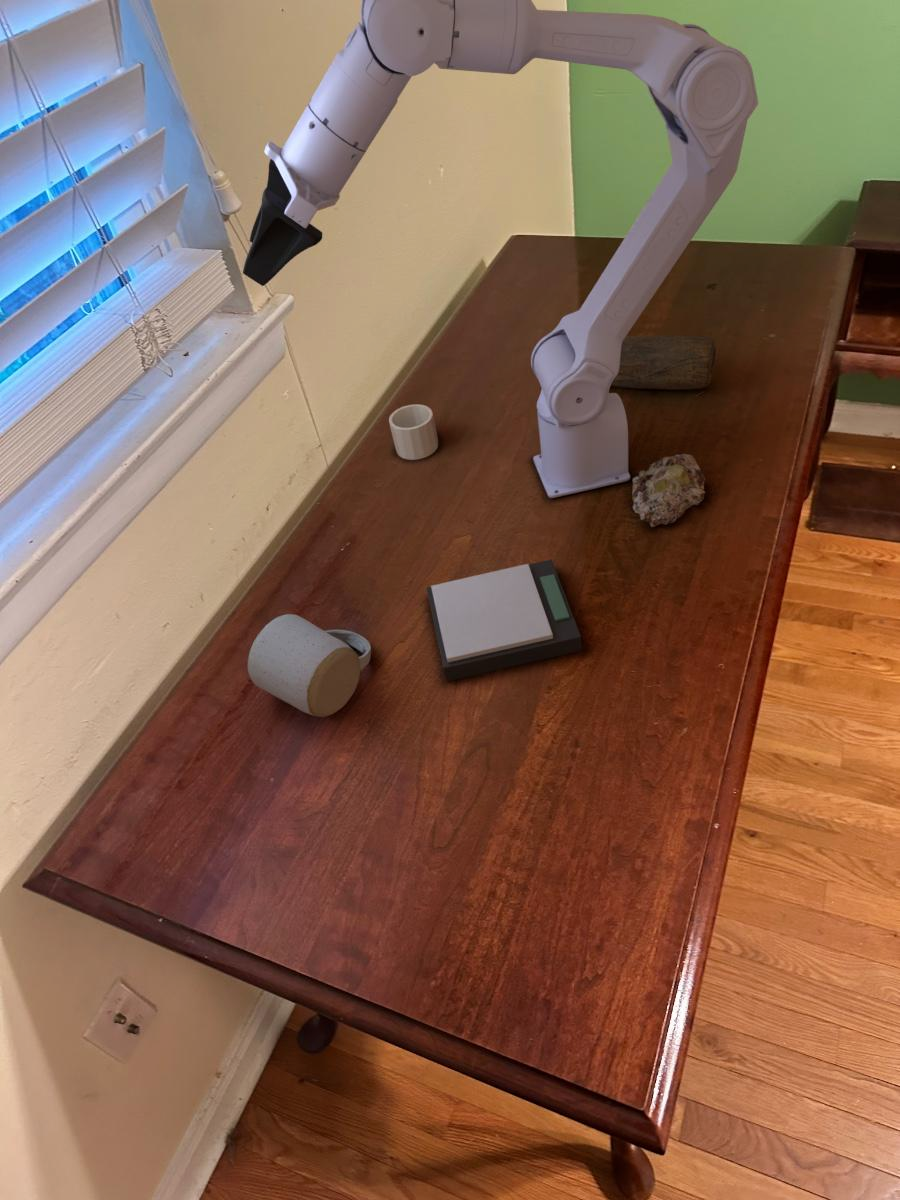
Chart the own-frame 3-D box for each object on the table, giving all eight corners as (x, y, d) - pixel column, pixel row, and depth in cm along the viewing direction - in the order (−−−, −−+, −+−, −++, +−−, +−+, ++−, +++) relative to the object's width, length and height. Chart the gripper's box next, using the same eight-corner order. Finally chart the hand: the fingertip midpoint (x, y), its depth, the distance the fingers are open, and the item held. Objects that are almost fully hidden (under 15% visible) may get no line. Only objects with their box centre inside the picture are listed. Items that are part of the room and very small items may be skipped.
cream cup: (435, 430, 109) (429, 400, 106) (441, 454, 105) (435, 423, 102) (393, 439, 109) (386, 409, 106) (398, 464, 105) (391, 433, 102)
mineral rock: (642, 445, 96) (711, 441, 91) (652, 476, 99) (720, 473, 94) (607, 506, 90) (679, 505, 85) (619, 537, 93) (690, 537, 88)
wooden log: (714, 370, 109) (718, 321, 104) (711, 400, 104) (715, 351, 99) (597, 369, 113) (595, 322, 108) (589, 398, 108) (586, 351, 104)
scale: (552, 573, 87) (551, 554, 86) (582, 650, 80) (580, 632, 78) (429, 601, 87) (425, 583, 86) (446, 681, 80) (442, 663, 78)
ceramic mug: (323, 737, 77) (301, 683, 72) (260, 703, 81) (234, 649, 76) (394, 659, 83) (378, 604, 77) (332, 630, 87) (313, 576, 81)
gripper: (299, 75, 74) (224, 207, 81) (292, 117, 63) (206, 266, 70) (366, 128, 77) (289, 252, 84) (371, 177, 67) (282, 314, 73)
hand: (256, 261), depth 77 cm, fingers open, 7 cm apart
